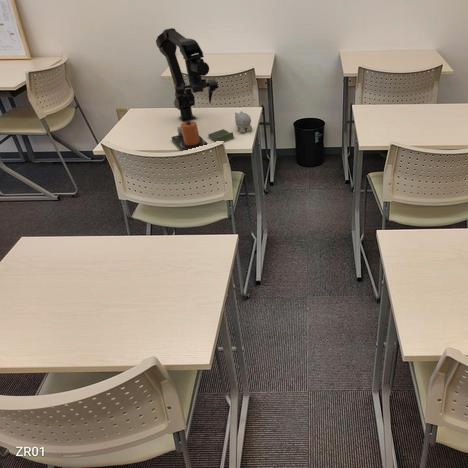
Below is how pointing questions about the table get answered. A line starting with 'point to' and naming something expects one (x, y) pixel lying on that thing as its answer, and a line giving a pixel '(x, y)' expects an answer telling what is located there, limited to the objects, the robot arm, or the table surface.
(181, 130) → the grey and red block
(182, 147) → the hob plate
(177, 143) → the hob
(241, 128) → the round bodied animal figurine
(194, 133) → the pot
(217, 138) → the rack
